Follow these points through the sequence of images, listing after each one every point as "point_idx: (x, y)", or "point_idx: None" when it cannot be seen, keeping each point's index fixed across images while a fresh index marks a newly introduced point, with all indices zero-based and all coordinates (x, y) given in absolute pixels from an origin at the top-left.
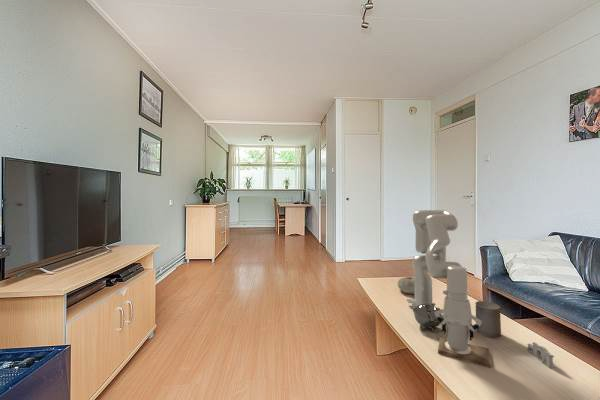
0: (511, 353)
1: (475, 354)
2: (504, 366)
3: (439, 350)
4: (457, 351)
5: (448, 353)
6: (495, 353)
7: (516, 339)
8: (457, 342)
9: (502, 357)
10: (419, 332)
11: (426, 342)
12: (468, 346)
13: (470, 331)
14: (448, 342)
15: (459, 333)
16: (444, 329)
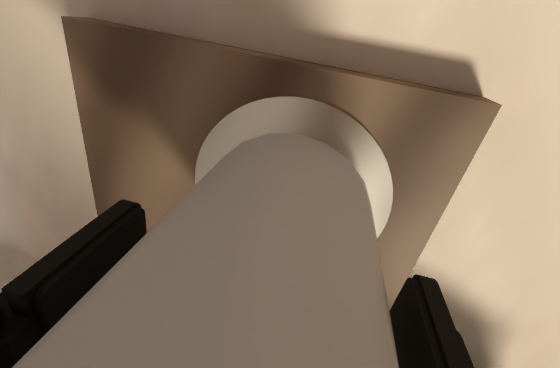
0: (27, 235)
1: (170, 131)
2: (27, 82)
3: (483, 99)
4: (304, 125)
5: (394, 83)
6: (87, 217)
7: None
8: (288, 161)
9: (53, 186)
10: (516, 353)
11: (522, 243)
12: None
13: (23, 288)
14: (370, 205)
15: (219, 231)
16: (449, 338)
